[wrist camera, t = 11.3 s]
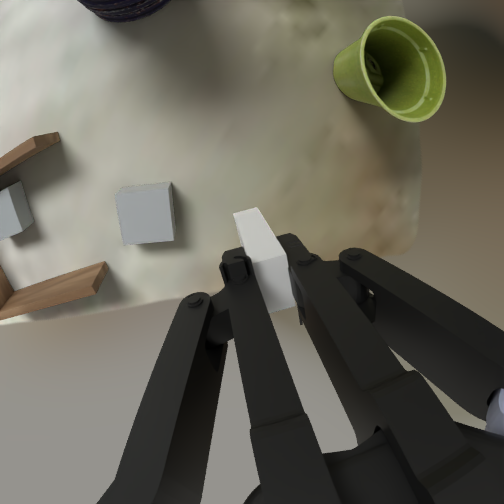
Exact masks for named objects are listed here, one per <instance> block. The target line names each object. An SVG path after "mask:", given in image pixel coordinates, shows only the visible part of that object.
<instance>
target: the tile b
mask: <svg viewBox="0 0 504 504" xmlns="http://www.w3.org/2000/svg"><path fill="white" fill-rule="evenodd" d="M115 200H116V206H117V212H118V218H119V224H120V229H121V235H122V240H123V245H131V244H142V243H153V242H164V241H174V238H175V232H176V225H175V216H174V207H173V197H172V186H171V182H162V183H153V184H144V185H136V186H128V187H122V188H121V189H120V190H119V191H118V192H117V193H116V194H115Z"/></svg>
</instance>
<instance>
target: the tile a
mask: <svg viewBox="0 0 504 504" xmlns="http://www.w3.org/2000/svg"><path fill="white" fill-rule="evenodd" d="M33 222H34V219H33V217H32V214H31V211H30V208H29V205H28V202H27V199H26V196H25V193H24V190H23V186H22V183H21V181H19V182H17V183H15V184H13V185H11V186H9V187H7V188H5V189H4V190H2V191H0V241H1V240H3V239H5V238H8V237H10V236H12V235H15V234H17V233H20V232H22V231H24V230H25V229H26V228H27V227H28V226H30V225H31V224H32V223H33Z"/></svg>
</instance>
